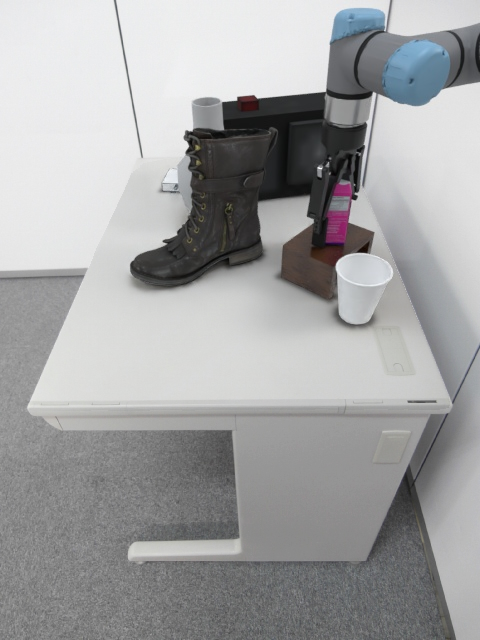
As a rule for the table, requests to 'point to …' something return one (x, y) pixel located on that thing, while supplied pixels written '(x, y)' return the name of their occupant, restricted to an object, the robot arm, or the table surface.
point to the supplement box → (339, 214)
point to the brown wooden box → (320, 258)
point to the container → (170, 181)
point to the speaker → (284, 138)
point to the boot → (214, 207)
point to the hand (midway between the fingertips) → (329, 236)
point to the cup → (361, 285)
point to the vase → (204, 116)
